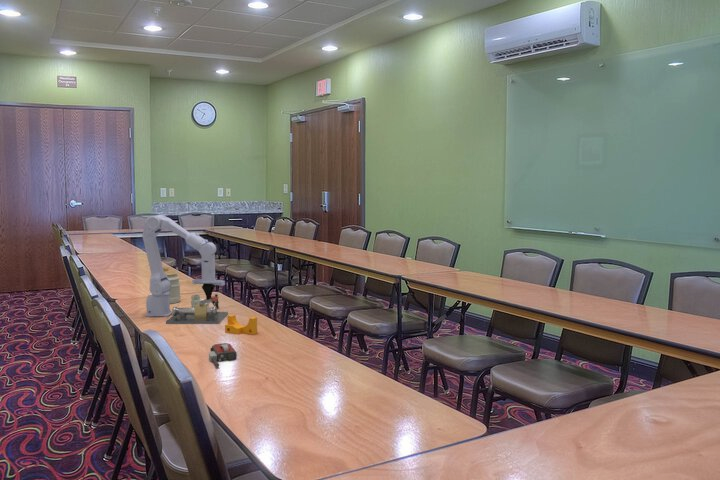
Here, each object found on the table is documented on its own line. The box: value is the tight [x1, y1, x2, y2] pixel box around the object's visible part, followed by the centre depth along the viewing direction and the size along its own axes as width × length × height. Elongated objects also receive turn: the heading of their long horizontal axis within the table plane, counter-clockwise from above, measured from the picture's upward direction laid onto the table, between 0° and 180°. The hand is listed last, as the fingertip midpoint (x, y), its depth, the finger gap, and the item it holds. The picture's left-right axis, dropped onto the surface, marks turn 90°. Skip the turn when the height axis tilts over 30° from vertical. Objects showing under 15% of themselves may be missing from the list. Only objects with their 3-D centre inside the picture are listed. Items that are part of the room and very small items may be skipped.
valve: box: [190, 293, 219, 309], centre depth 274 cm, size 7×7×12 cm
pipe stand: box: [165, 303, 228, 325], centre depth 254 cm, size 22×18×6 cm
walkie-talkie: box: [208, 342, 238, 368], centre depth 198 cm, size 9×4×20 cm
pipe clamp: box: [224, 314, 258, 336], centre depth 231 cm, size 12×4×6 cm, turn 67°
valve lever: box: [200, 295, 219, 306], centre depth 257 cm, size 11×2×2 cm, turn 154°
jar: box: [163, 265, 181, 305], centre depth 289 cm, size 13×13×18 cm
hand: (208, 300), depth 260 cm, fingers closed, pressing on valve lever
